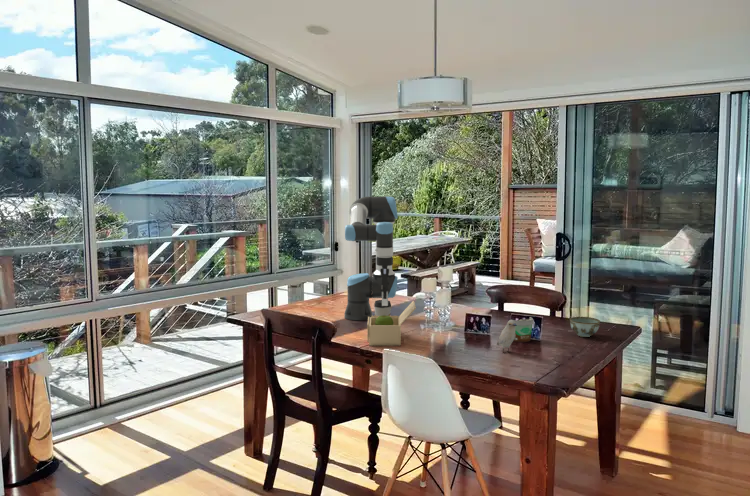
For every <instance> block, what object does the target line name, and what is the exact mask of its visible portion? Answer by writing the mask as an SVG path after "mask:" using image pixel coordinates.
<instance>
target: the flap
mask: <svg viewBox="0 0 750 496" xmlns="http://www.w3.org/2000/svg"><path fill="white" fill-rule="evenodd" d="M416 309H417V307H416V302H415V301H414V300H412V301H411V303H409V305H407V307H405V309H404V310H403V311H402V312H401V314H400V315H398V317H399V318H400V325H402V324H403V323H405V321H406V320H407V319H408V318H409V317H410V316H411V314H413V312H414V311H415V310H416Z"/></svg>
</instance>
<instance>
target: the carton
mask: <svg viewBox="0 0 750 496" xmlns="http://www.w3.org/2000/svg"><path fill="white" fill-rule="evenodd" d="M378 317H379V316H375V315H373V316H371V317H370V319H369V317H368V319H367V325H366V326H367V331H366V332H367V343H369V347H401V344H402V342H401V341H402V339H401V337H402V336H401V334H402V333H401V332H402V331H401V328H402V324H400V318H399V315H390V317H391V318H392V319H393V322H394V323H393V325H375V321H376V319H377V318H378Z"/></svg>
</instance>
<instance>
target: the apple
mask: <svg viewBox="0 0 750 496" xmlns="http://www.w3.org/2000/svg"><path fill="white" fill-rule="evenodd" d="M390 316H391V315H390ZM390 316H386V315H382V316H379V317H378V318H377V319H376V321H375V325H393V323H394V322H393V319H392V318H391V317H390Z"/></svg>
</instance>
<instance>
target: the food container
mask: <svg viewBox="0 0 750 496" xmlns="http://www.w3.org/2000/svg"><path fill="white" fill-rule="evenodd" d="M512 320H513V321H515V322H516V325H517V326H515V339H514V340H513V342H518V343H527V342H531V338H532V331H533V329H532V328H533V325H534V324H535V322H534V319H533V317H531V316H529V318H526V319H525V318H521V319H517V320H516V319H512Z"/></svg>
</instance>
